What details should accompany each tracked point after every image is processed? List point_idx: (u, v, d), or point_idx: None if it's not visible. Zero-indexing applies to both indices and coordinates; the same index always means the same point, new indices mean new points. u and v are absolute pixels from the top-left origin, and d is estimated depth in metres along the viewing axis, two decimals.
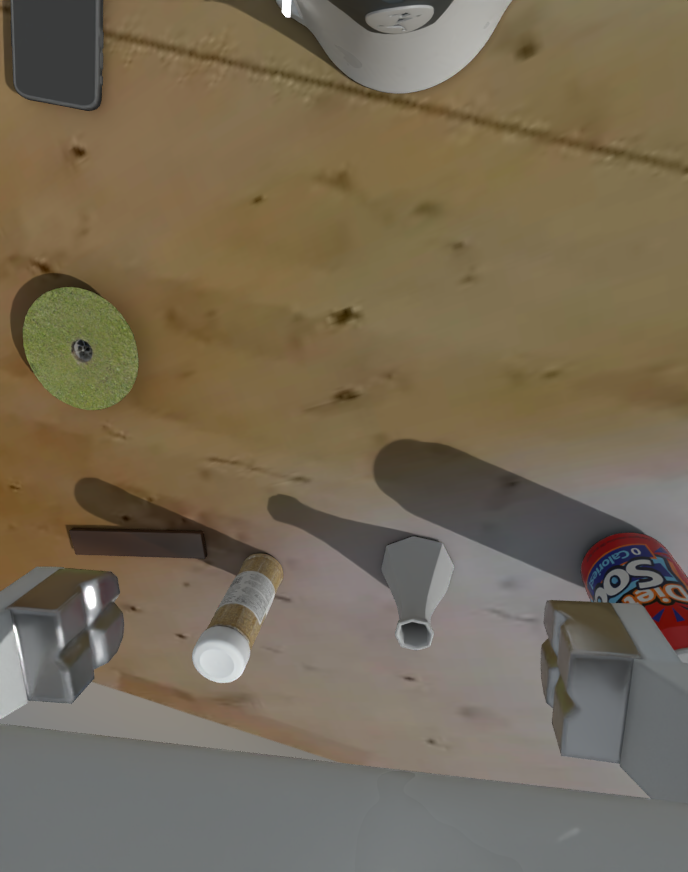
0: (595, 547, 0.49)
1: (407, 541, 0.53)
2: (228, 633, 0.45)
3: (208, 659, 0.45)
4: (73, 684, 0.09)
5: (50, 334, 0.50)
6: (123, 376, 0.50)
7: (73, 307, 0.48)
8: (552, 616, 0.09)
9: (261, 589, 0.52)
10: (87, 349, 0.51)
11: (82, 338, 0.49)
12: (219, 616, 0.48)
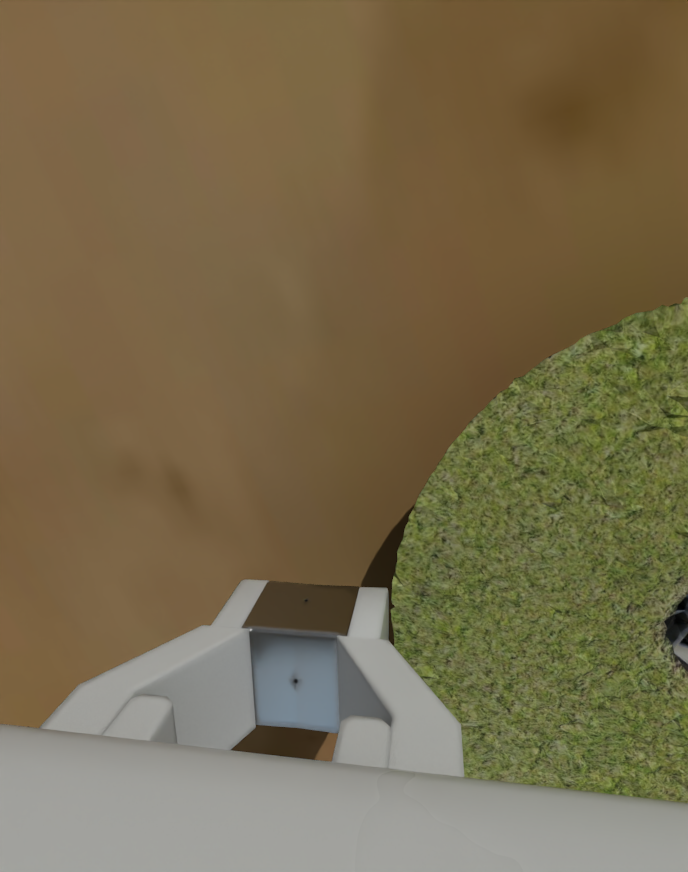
0: None
1: None
2: None
3: None
4: None
5: (617, 758, 0.10)
6: None
7: (490, 607, 0.10)
8: None
9: None
10: None
11: (663, 608, 0.09)
12: None
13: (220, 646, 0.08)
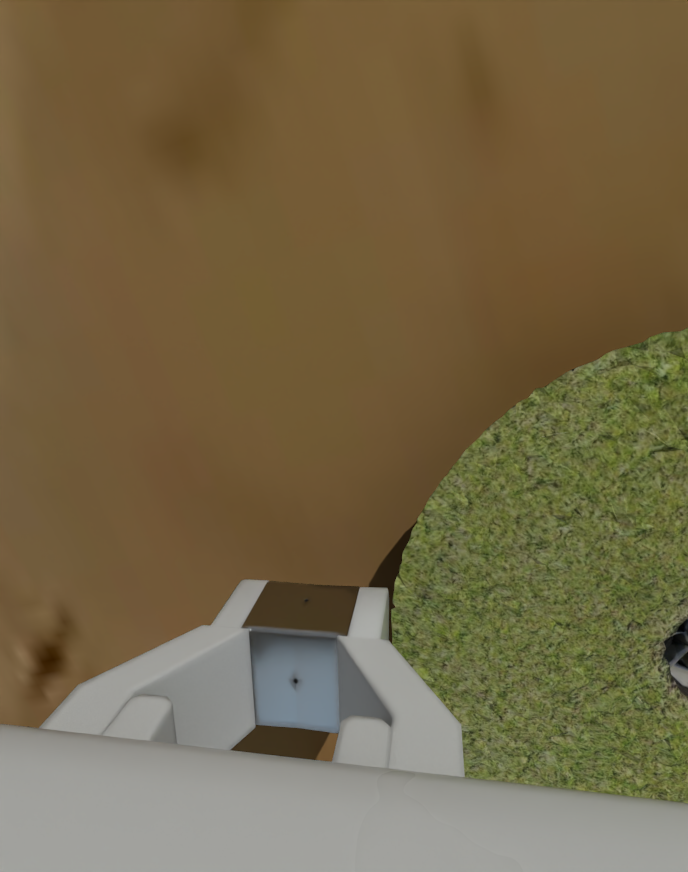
0: None
1: None
2: None
3: None
4: None
5: (605, 773, 0.10)
6: None
7: (491, 614, 0.10)
8: None
9: None
10: None
11: (664, 628, 0.09)
12: None
13: (220, 646, 0.08)
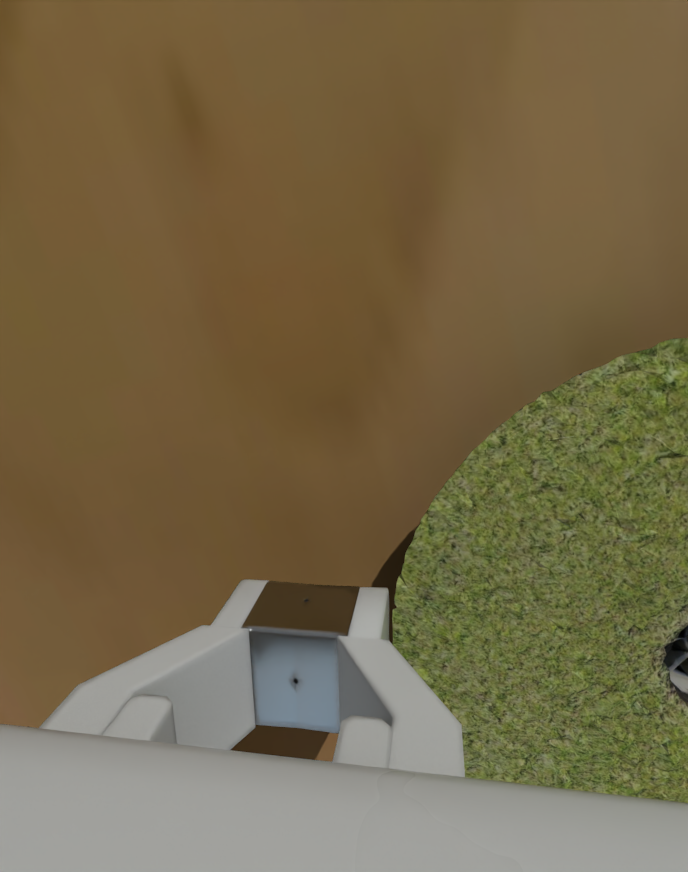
0: None
1: None
2: None
3: None
4: None
5: (602, 777, 0.10)
6: None
7: (492, 617, 0.10)
8: None
9: None
10: None
11: (665, 634, 0.09)
12: None
13: (220, 647, 0.08)
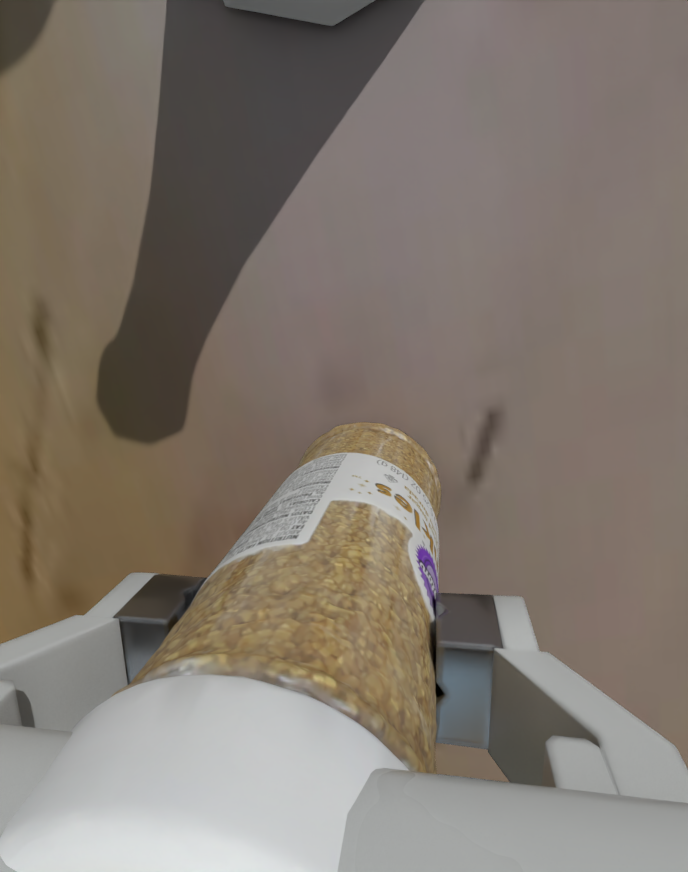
0: None
1: None
2: None
3: None
4: None
5: None
6: None
7: None
8: (435, 608, 0.09)
9: (269, 502, 0.12)
10: None
11: None
12: None
13: (84, 635, 0.08)
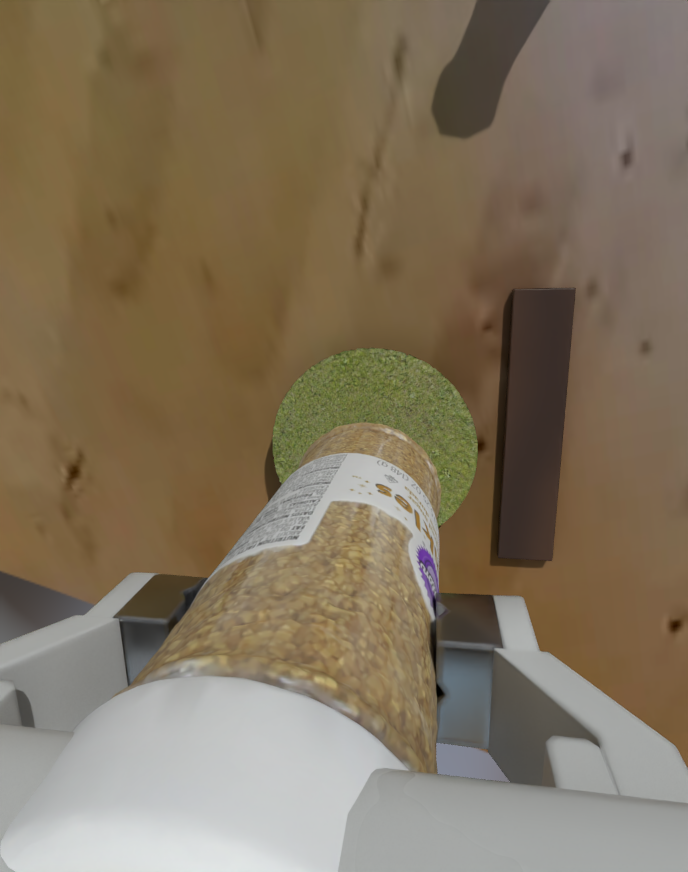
0: None
1: None
2: None
3: None
4: None
5: None
6: (425, 388, 0.28)
7: (303, 437, 0.30)
8: None
9: (269, 503, 0.12)
10: None
11: None
12: None
13: (84, 635, 0.08)
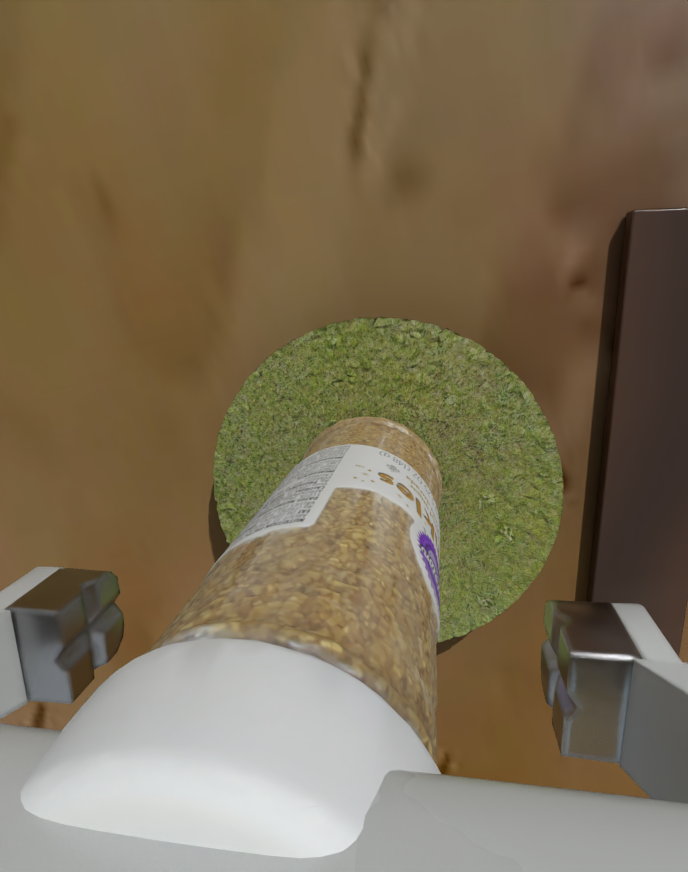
0: None
1: None
2: None
3: None
4: (73, 684, 0.09)
5: None
6: (474, 388, 0.16)
7: (263, 470, 0.18)
8: (552, 616, 0.09)
9: (275, 491, 0.12)
10: None
11: None
12: None
13: None
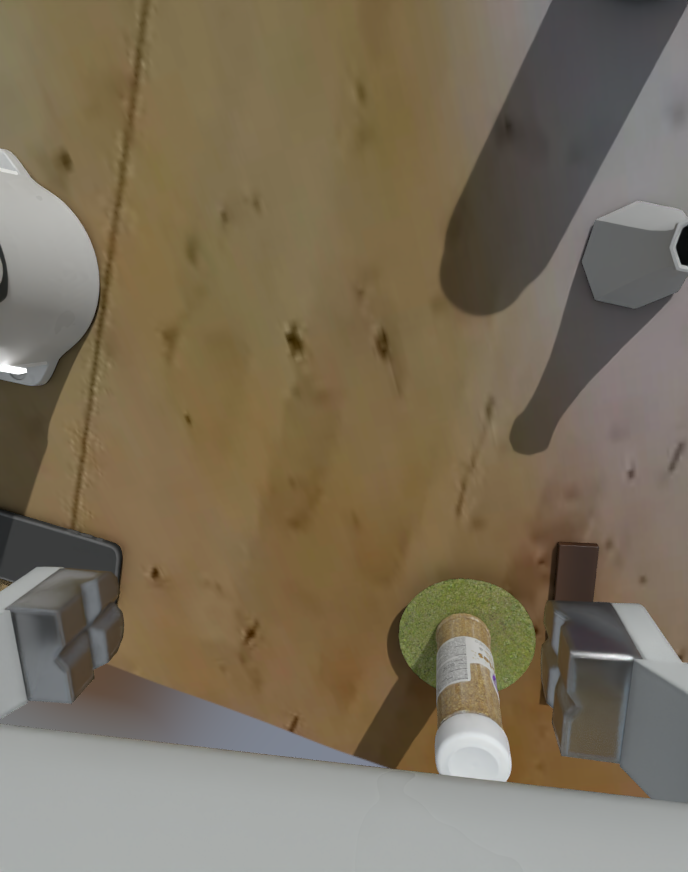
0: None
1: (588, 270, 0.38)
2: (438, 736, 0.34)
3: (466, 774, 0.33)
4: (73, 684, 0.09)
5: None
6: (502, 604, 0.45)
7: (419, 628, 0.46)
8: (552, 616, 0.09)
9: (446, 657, 0.40)
10: None
11: None
12: None
13: None
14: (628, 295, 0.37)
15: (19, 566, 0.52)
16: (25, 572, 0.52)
